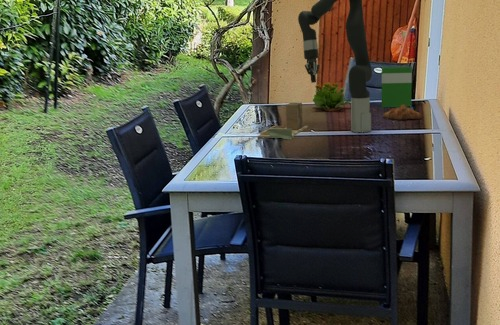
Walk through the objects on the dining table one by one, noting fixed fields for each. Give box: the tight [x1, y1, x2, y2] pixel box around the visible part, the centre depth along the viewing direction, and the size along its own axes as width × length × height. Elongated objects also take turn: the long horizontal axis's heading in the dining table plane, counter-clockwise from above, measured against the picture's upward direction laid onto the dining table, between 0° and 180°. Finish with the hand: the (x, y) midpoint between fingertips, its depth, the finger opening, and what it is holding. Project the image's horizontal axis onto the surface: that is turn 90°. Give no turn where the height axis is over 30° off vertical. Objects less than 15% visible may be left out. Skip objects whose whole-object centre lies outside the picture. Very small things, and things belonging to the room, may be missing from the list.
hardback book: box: [381, 66, 413, 108], centre depth 373 cm, size 18×7×24 cm, turn 76°
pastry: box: [382, 105, 423, 121], centre depth 334 cm, size 17×15×8 cm
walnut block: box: [285, 102, 304, 130], centre depth 315 cm, size 8×6×13 cm
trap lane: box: [256, 125, 309, 140], centre depth 310 cm, size 27×18×5 cm, turn 157°
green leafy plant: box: [312, 81, 351, 112], centre depth 373 cm, size 25×24×18 cm
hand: (313, 82), depth 320 cm, fingers closed
